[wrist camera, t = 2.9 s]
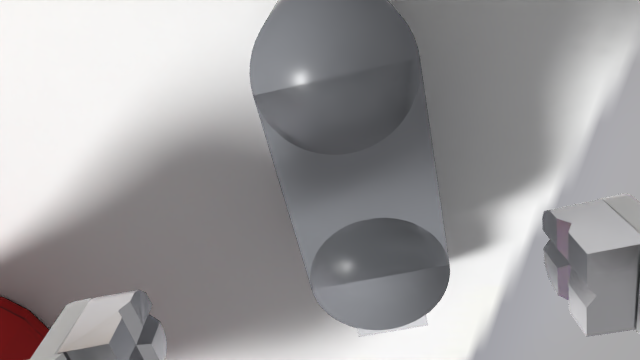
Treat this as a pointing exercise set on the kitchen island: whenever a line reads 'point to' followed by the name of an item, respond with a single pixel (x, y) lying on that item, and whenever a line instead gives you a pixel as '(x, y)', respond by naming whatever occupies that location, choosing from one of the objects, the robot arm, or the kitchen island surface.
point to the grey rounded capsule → (354, 158)
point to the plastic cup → (19, 331)
